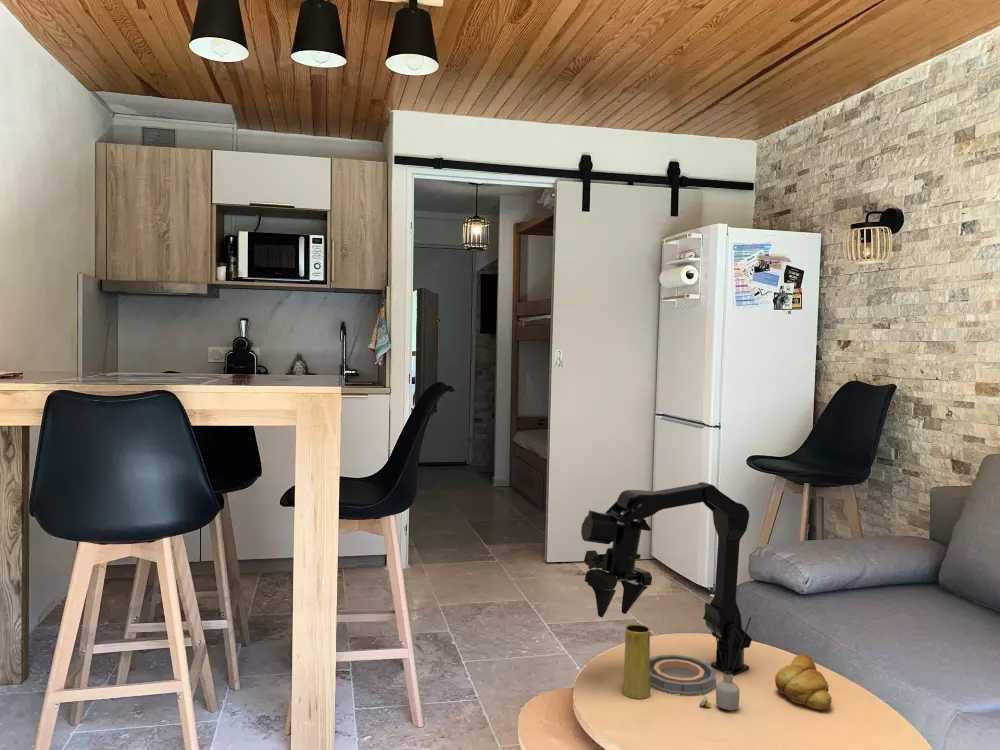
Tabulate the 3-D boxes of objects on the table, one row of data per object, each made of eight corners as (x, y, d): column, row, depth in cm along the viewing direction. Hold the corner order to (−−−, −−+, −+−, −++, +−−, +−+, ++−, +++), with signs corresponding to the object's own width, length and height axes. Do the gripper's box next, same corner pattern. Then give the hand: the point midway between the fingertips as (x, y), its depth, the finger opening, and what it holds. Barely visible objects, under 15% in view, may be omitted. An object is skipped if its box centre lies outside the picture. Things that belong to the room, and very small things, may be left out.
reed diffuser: (745, 703, 157) (747, 610, 157) (755, 719, 151) (757, 621, 150) (696, 701, 158) (698, 608, 157) (705, 717, 151) (707, 620, 150)
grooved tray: (673, 658, 180) (674, 648, 180) (731, 683, 167) (731, 672, 167) (627, 675, 170) (627, 665, 170) (684, 702, 157) (684, 691, 157)
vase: (650, 700, 158) (652, 634, 158) (621, 697, 159) (622, 632, 159) (650, 688, 164) (652, 624, 163) (622, 685, 165) (623, 622, 165)
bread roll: (842, 713, 154) (843, 675, 154) (798, 716, 152) (799, 677, 152) (807, 685, 166) (808, 650, 166) (767, 688, 165) (767, 652, 165)
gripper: (619, 536, 180) (607, 600, 179) (572, 537, 166) (559, 606, 166) (658, 549, 172) (646, 616, 171) (612, 551, 158) (599, 623, 158)
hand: (612, 615), depth 167 cm, fingers open, 9 cm apart
